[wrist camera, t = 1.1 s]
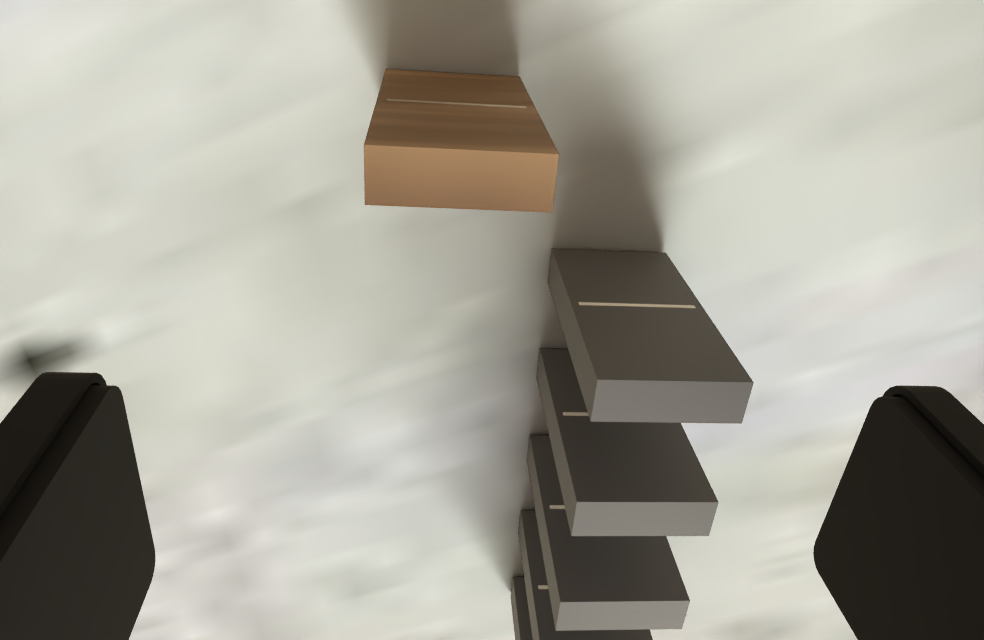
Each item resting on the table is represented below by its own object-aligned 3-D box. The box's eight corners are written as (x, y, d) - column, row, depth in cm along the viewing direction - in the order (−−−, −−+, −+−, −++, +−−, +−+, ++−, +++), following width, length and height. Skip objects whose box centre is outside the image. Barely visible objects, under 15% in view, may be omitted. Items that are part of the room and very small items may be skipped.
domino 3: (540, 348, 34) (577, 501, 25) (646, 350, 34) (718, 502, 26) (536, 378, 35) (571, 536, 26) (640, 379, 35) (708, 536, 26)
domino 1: (385, 68, 27) (363, 143, 19) (519, 76, 28) (559, 153, 19) (386, 112, 28) (364, 205, 19) (515, 119, 29) (552, 213, 20)
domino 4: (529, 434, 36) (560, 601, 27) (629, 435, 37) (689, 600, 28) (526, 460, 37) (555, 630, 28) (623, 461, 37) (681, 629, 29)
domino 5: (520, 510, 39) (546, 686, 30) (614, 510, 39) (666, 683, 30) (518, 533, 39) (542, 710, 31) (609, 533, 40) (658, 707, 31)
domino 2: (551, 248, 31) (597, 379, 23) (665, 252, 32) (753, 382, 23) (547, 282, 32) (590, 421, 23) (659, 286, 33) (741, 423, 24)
